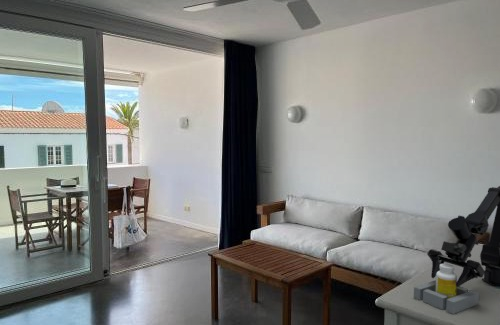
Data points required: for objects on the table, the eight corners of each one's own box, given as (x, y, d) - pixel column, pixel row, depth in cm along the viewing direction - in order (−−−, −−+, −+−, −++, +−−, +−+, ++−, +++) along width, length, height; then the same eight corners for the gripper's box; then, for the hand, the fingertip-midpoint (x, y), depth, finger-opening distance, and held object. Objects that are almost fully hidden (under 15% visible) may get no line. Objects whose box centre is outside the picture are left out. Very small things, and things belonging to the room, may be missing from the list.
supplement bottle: (458, 305, 135) (460, 269, 134) (438, 304, 137) (439, 268, 136) (452, 297, 142) (454, 263, 141) (433, 296, 143) (434, 262, 142)
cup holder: (438, 289, 150) (439, 279, 149) (478, 304, 137) (478, 292, 136) (413, 297, 142) (414, 287, 142) (453, 314, 129) (453, 302, 129)
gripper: (431, 228, 148) (411, 261, 143) (481, 239, 132) (461, 277, 127) (442, 245, 152) (423, 278, 147) (492, 258, 136) (473, 296, 131)
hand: (444, 281), depth 138 cm, fingers open, 9 cm apart
